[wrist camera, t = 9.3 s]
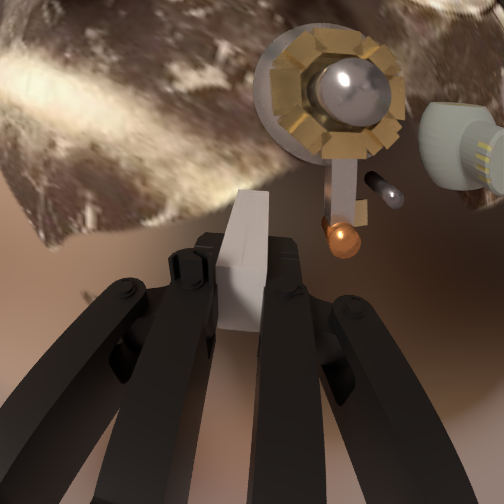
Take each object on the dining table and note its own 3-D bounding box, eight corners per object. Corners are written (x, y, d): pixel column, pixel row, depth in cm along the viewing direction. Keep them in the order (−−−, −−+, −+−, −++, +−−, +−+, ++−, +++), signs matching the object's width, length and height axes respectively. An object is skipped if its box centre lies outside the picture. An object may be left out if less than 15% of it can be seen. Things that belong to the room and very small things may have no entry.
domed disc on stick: (265, 35, 17) (265, 22, 14) (387, 43, 17) (409, 36, 13) (280, 237, 28) (282, 262, 24) (382, 232, 27) (398, 255, 23)
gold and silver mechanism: (384, 27, 17) (425, 9, 10) (401, 219, 27) (435, 257, 21) (239, 34, 19) (229, 8, 12) (280, 237, 29) (285, 284, 22)
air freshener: (409, 178, 25) (462, 218, 16) (402, 101, 21) (464, 111, 12) (478, 170, 23) (532, 203, 15) (475, 103, 19) (537, 120, 11)
